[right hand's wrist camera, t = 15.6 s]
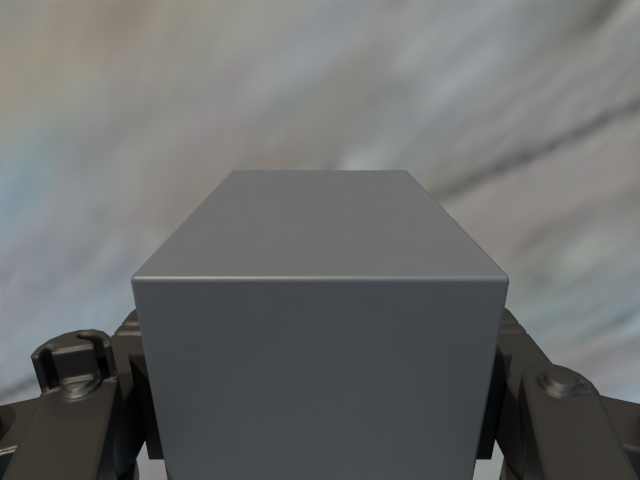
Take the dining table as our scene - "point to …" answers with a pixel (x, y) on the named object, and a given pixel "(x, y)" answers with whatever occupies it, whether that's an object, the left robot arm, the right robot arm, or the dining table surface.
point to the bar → (320, 332)
